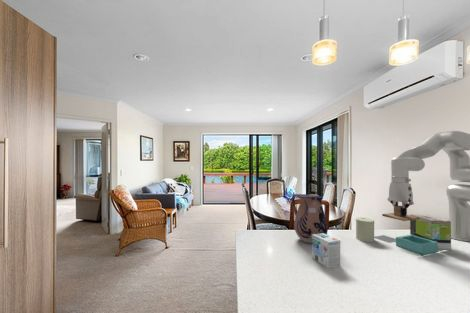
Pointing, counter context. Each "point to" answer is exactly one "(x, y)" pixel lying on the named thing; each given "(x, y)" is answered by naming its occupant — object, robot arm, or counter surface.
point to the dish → (417, 244)
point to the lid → (399, 215)
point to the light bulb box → (326, 250)
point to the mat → (385, 238)
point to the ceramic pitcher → (309, 216)
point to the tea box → (432, 230)
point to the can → (365, 229)
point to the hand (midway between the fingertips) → (400, 214)
